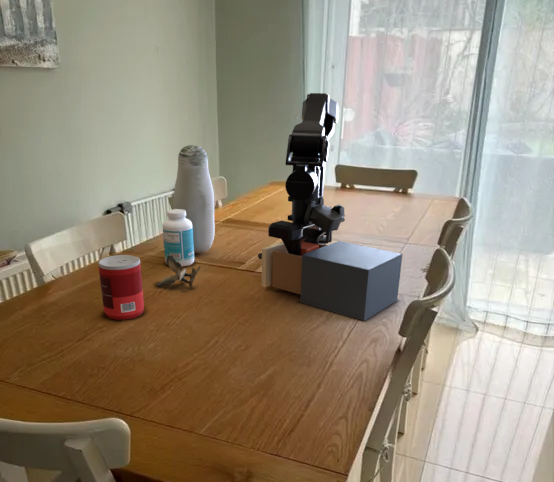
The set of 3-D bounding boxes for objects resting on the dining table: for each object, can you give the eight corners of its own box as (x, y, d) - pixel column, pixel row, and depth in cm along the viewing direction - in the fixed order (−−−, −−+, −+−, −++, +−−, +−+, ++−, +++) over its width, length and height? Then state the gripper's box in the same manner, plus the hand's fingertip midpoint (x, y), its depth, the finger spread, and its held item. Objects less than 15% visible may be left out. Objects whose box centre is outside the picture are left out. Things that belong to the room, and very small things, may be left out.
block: (287, 267, 123) (287, 245, 121) (300, 262, 126) (301, 240, 124) (305, 271, 120) (306, 249, 118) (318, 266, 124) (319, 244, 122)
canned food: (151, 308, 113) (147, 257, 108) (130, 323, 106) (124, 268, 101) (119, 303, 115) (114, 252, 110) (96, 317, 108) (89, 263, 104)
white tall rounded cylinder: (170, 252, 150) (163, 145, 138) (198, 245, 157) (193, 142, 146) (195, 259, 144) (189, 148, 133) (222, 251, 151) (220, 145, 140)
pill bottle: (189, 257, 146) (187, 206, 140) (198, 265, 140) (195, 212, 134) (161, 261, 143) (158, 209, 137) (169, 269, 137) (165, 215, 131)
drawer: (247, 282, 126) (247, 244, 122) (282, 268, 136) (283, 233, 132) (314, 301, 116) (316, 261, 112) (347, 285, 125) (350, 247, 122)
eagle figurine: (203, 276, 128) (169, 265, 130) (199, 257, 122) (163, 245, 124) (188, 301, 125) (153, 289, 126) (184, 283, 119) (147, 271, 120)
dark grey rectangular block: (300, 302, 117) (302, 254, 113) (336, 284, 128) (339, 240, 124) (364, 321, 109) (368, 270, 105) (397, 300, 120) (402, 253, 115)
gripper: (312, 203, 105) (308, 280, 112) (360, 190, 119) (355, 260, 125) (267, 196, 111) (266, 269, 118) (318, 184, 125) (314, 251, 131)
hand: (302, 262), depth 123 cm, fingers closed on block, 5 cm apart
